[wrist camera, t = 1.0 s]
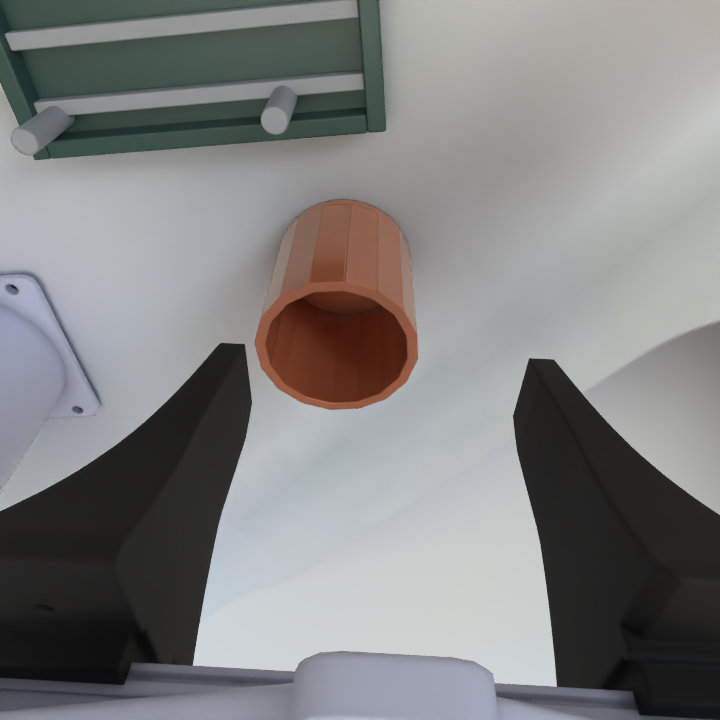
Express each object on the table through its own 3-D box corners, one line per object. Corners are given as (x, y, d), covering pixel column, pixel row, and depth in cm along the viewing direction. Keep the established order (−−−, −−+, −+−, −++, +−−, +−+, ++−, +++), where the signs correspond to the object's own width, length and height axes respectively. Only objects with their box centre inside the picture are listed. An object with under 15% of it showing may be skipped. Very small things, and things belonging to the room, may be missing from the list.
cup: (291, 317, 26) (272, 412, 21) (269, 204, 22) (240, 287, 18) (411, 310, 25) (419, 406, 21) (407, 193, 22) (415, 277, 17)
